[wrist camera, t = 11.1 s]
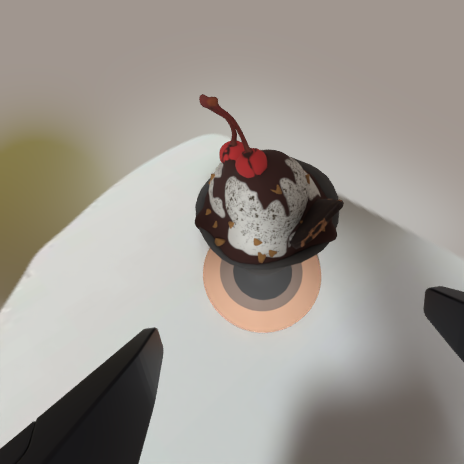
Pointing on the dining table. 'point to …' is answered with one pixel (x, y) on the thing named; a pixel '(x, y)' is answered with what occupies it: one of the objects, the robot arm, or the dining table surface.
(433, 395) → the dining table surface
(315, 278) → the saucer
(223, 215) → the sundae
